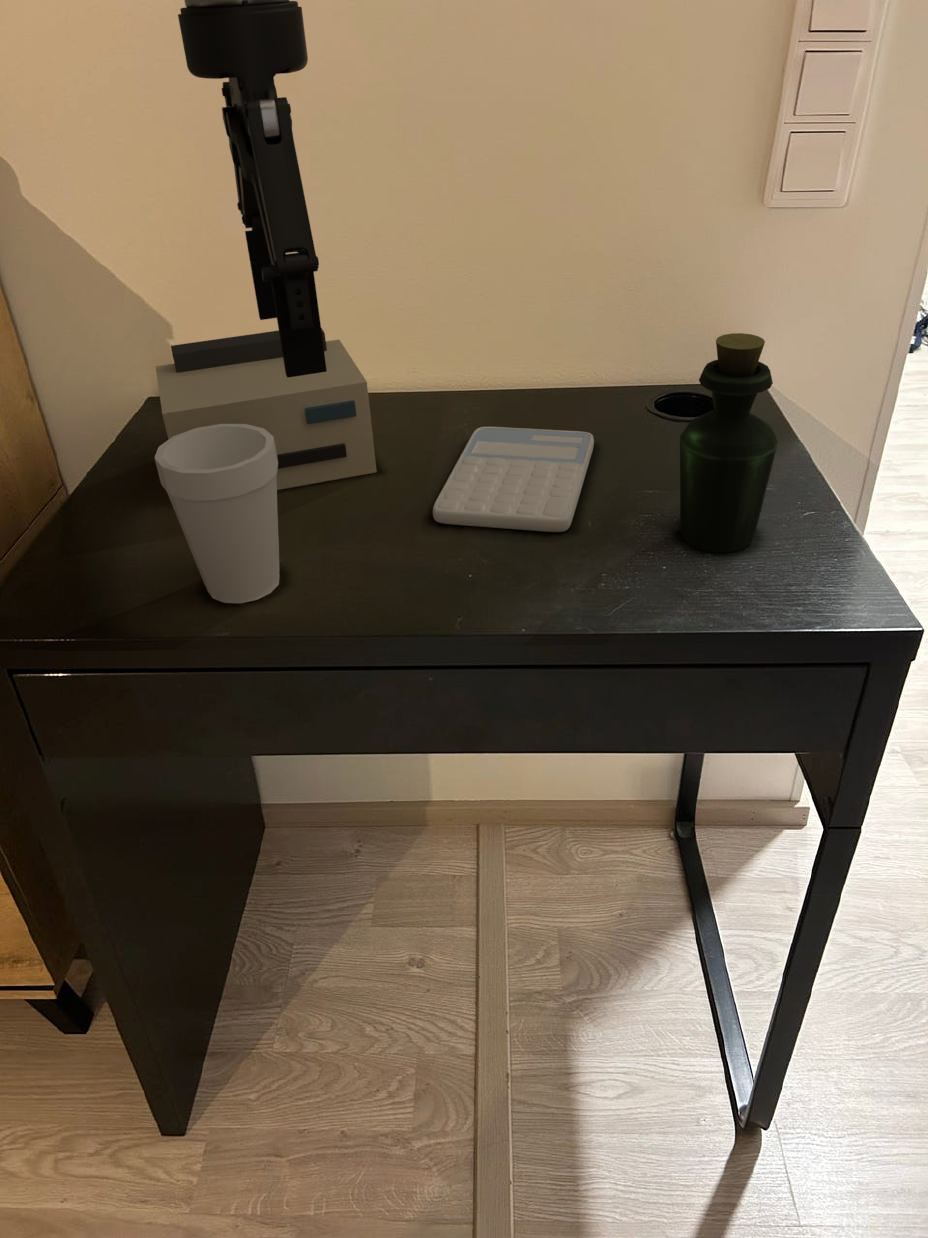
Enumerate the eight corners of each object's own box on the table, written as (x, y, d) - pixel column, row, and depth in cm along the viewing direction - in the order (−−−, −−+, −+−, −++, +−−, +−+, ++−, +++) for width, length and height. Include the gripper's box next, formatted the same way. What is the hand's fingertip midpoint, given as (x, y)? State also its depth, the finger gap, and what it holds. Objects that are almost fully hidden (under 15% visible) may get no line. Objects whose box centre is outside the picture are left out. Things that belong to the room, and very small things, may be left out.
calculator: (430, 525, 91) (428, 507, 90) (476, 438, 107) (475, 422, 106) (569, 535, 88) (569, 517, 87) (595, 444, 104) (596, 428, 103)
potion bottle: (763, 517, 89) (792, 326, 79) (763, 562, 83) (794, 360, 72) (674, 511, 91) (691, 323, 81) (667, 554, 85) (685, 356, 74)
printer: (184, 508, 96) (157, 394, 89) (176, 452, 108) (151, 347, 101) (377, 473, 101) (365, 363, 94) (349, 423, 112) (337, 321, 105)
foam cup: (319, 572, 85) (297, 436, 77) (247, 625, 79) (216, 482, 71) (240, 546, 89) (213, 416, 82) (166, 594, 83) (130, 457, 76)
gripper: (339, -1, 49) (379, 393, 61) (271, -8, 69) (311, 291, 81) (191, 8, 47) (262, 411, 60) (164, -2, 67) (222, 303, 79)
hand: (290, 343), depth 70 cm, fingers open, 13 cm apart
